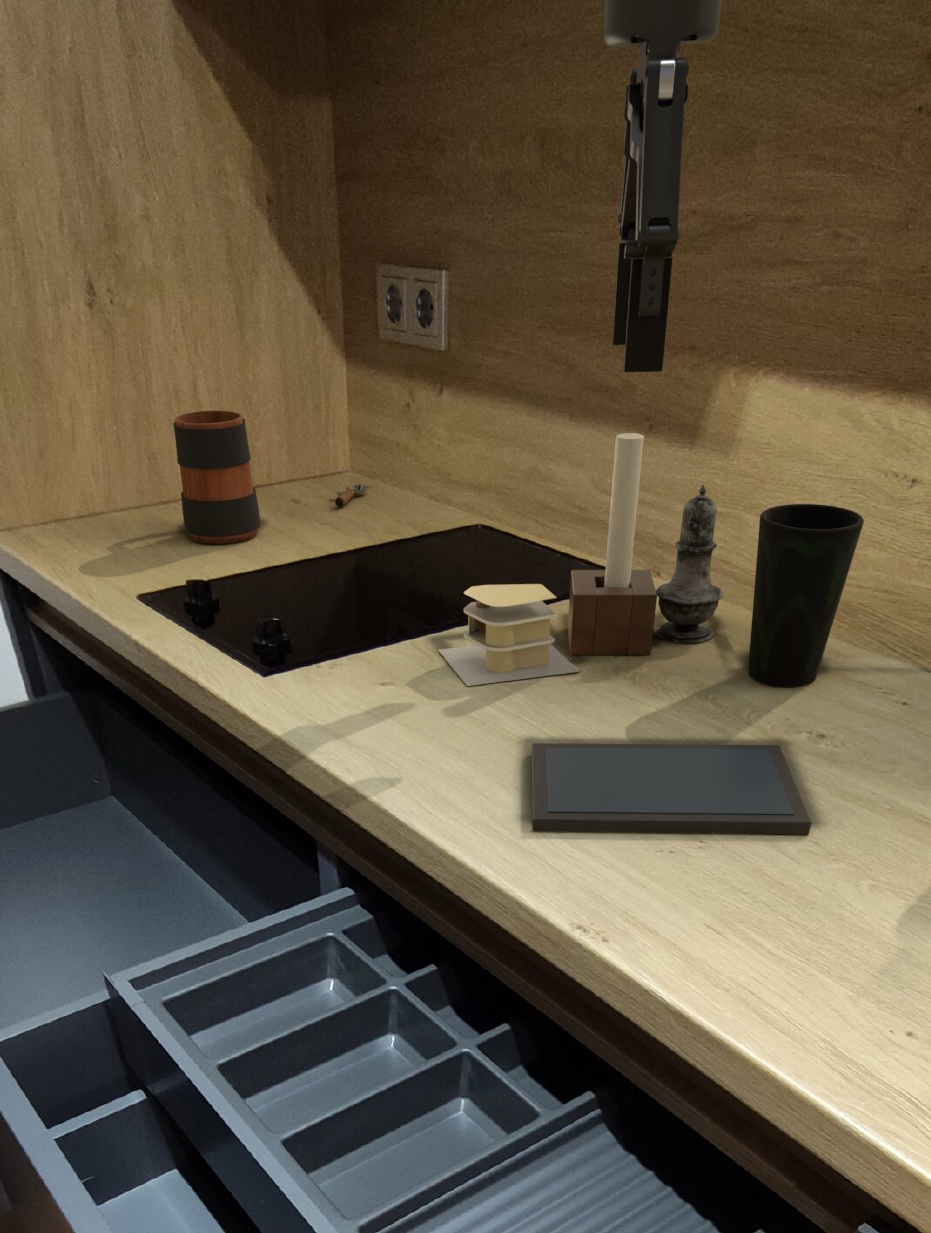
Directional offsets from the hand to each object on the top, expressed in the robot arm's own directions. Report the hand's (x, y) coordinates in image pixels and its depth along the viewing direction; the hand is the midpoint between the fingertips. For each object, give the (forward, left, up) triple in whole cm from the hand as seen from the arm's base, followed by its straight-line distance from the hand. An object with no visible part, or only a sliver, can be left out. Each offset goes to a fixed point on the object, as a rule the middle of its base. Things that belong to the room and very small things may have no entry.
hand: (635, 357), depth 85 cm
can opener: (+29, -50, -21) cm, 62 cm away
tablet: (-2, +30, -21) cm, 37 cm away
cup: (-14, +8, -21) cm, 27 cm away
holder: (0, 0, -21) cm, 21 cm away
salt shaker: (-7, -2, -21) cm, 23 cm away
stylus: (0, 0, -21) cm, 21 cm away
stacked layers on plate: (+9, +5, -21) cm, 24 cm away
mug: (+43, -36, -21) cm, 60 cm away
